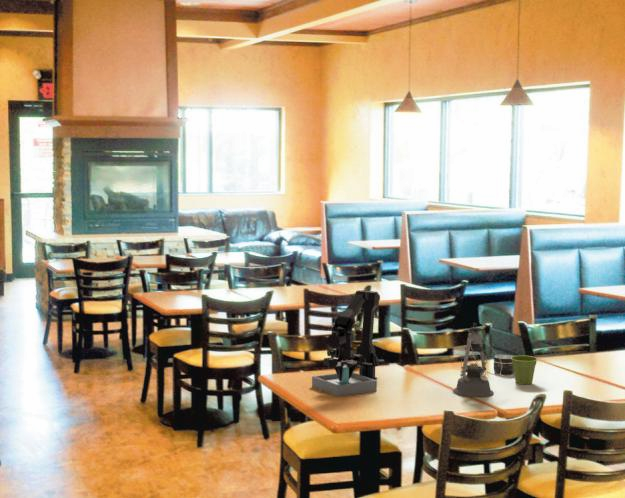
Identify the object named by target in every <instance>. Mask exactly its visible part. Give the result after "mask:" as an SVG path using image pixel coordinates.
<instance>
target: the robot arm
mask: <svg viewBox="0 0 625 498" xmlns="http://www.w3.org/2000/svg"><path fill="white" fill-rule="evenodd" d="M380 300H381V295H380V294H379V292H378V291H375V290H356V291H355V294H354V296H353V298H352V300H351V301H350V303H349V304H348V305H347V308H345V310H344V311H341V312H339V314H338V315H337V316H336V318H335V321H334V323H333V327H332V329H331V331H332V332H331V335H329V337H328V338H327V344H328V346H329V347H330V348H327V349H326V354H327V357H324V358H323V360H322V365H324V366H327V367H330V368H331V367H333V368H334V370H335V373H337V376H338V379H339V381H341V379H342V370H343V366H344V365H342V364H344V363H345V365H347V366H346V367H349V379H350V377H351V375H352V373H354V371H355V370H356V368H357V367H356V366H357V365H360V367H359V372H358V374H359V375H362V376H365V377H368V378H371V379H374V380H377V379H378V377H377V376H376V367H378V366H379V361H380V360H379V358H378V356H377V355H376V348H375V346H374V343H373V338H374V337H373V336H374V324H375V311H376V310H377V308H378V307H379V304H380ZM361 309H363V315H362V316H363V317H362V329H361V341H362V342H361V344H360V345H359V346H358V347H357V353H356V354H355V355H352V356H351V350H353V347H351V342H352V334H353V333H354V330H353V328H354V326H355V324H356V316H357V315H358V313H359V311H360V310H361Z"/></svg>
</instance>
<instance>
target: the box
mask: <svg viewBox="0 0 625 498" xmlns="http://www.w3.org/2000/svg"><path fill="white" fill-rule="evenodd" d="M377 381H378V380H377V379H371V378H368V377H365V376H362V375H359V373H356V372H353V373H352V375H351V377H350V379H349V384H343V385H341V384H340V381H339V379H338V376H337V373H336V372H335V373H329V374H321V375H320V374H319V375H313V376H311V387H312V388H314V389H317V390H320V391H322V392H324V393H327V394H330V395H333V396H335V397H343V396H349V395H357V394H358V395H359V394H364V393H371V392H377V390H378V389H377V385H378V384H377Z"/></svg>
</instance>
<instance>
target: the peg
mask: <svg viewBox="0 0 625 498" xmlns="http://www.w3.org/2000/svg"><path fill="white" fill-rule="evenodd" d="M342 366H343V370H342V379H341V381H340V384H341V385H343V384H349V367H347V366H344V365H342Z"/></svg>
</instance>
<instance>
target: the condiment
mask: <svg viewBox="0 0 625 498" xmlns="http://www.w3.org/2000/svg"><path fill="white" fill-rule="evenodd" d="M361 342H362V340H358V339H356V340H355V339H354V340H353V339H352V340H351V347H353V350H351V356H352V355H355V354H356V353H357V347H358V346H359V345H360V344H361ZM343 366H346V367H347V364H343ZM356 368H360V365H357V366H356Z"/></svg>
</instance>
